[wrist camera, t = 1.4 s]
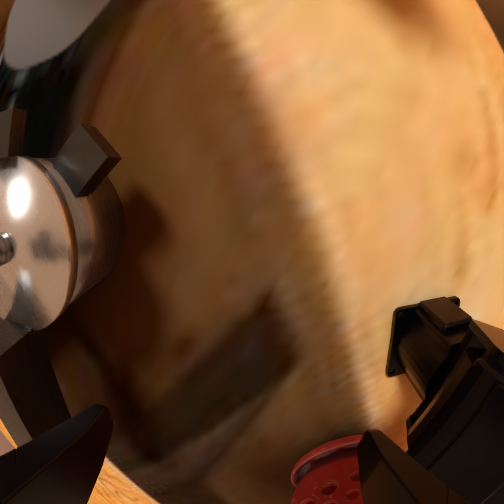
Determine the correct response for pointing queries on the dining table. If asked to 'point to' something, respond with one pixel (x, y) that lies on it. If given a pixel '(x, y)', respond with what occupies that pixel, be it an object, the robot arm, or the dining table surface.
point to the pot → (90, 203)
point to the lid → (31, 284)
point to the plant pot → (328, 474)
